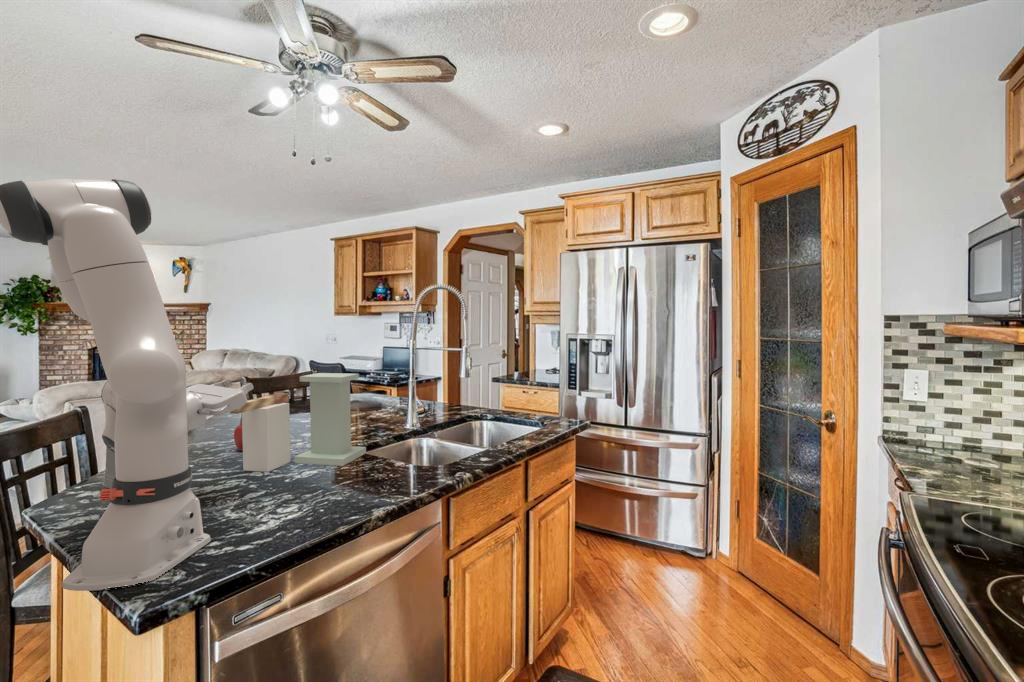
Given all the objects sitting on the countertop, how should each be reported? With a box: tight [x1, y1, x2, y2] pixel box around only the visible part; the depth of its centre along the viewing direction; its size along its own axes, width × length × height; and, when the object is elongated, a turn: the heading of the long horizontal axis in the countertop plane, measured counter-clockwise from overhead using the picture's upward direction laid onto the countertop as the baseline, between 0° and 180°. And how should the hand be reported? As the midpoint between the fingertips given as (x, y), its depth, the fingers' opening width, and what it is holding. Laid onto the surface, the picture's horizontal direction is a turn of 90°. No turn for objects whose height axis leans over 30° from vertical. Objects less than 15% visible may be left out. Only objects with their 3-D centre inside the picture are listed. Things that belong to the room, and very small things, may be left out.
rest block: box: [241, 402, 292, 473], centre depth 142 cm, size 10×8×18 cm
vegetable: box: [233, 424, 243, 451], centre depth 161 cm, size 11×10×10 cm
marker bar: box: [229, 392, 290, 415], centre depth 139 cm, size 20×4×2 cm, turn 169°
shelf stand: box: [293, 372, 367, 467], centre depth 150 cm, size 14×16×26 cm
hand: (240, 383), depth 126 cm, fingers open, 8 cm apart
